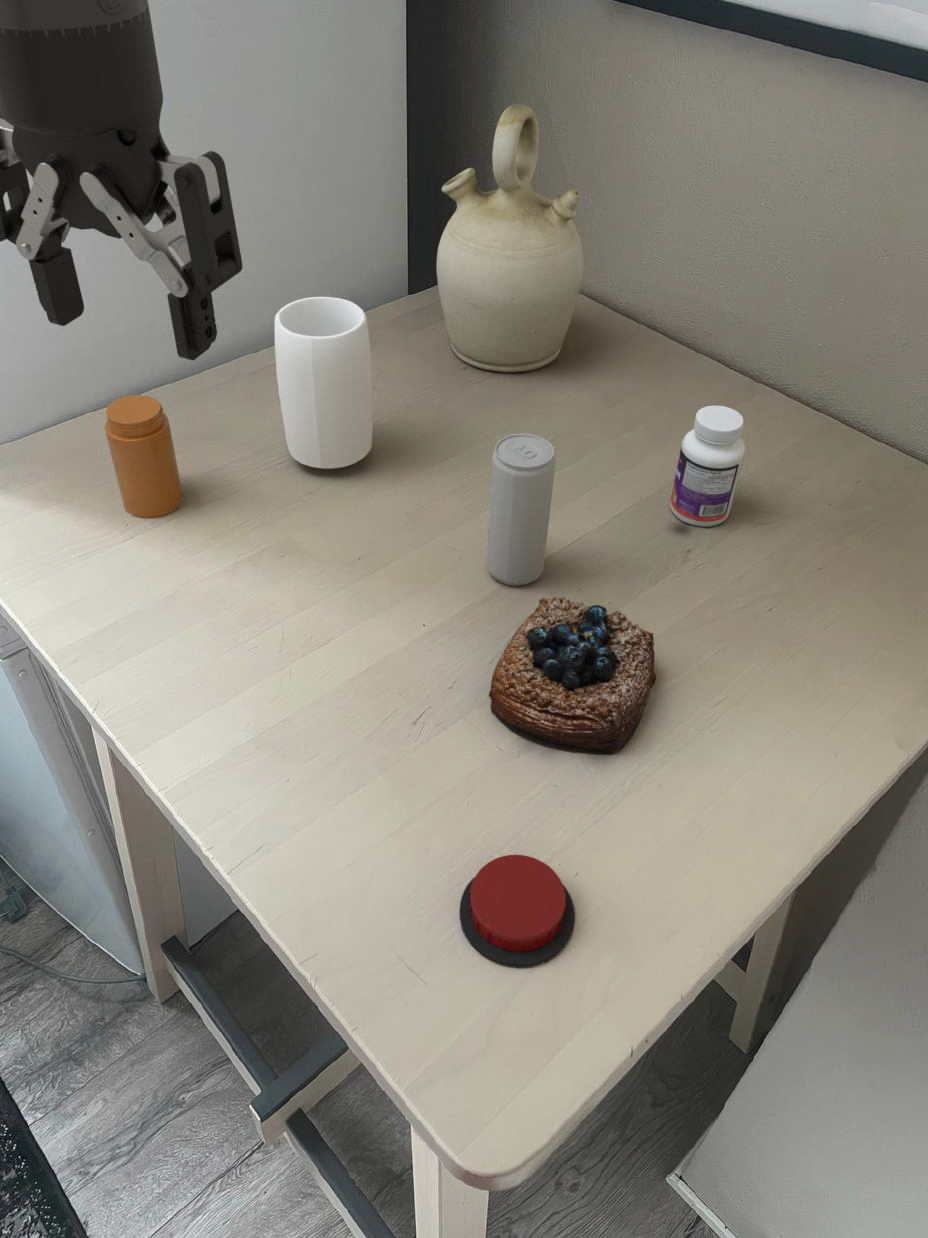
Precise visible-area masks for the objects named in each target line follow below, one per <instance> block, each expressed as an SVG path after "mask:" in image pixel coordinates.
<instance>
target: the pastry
mask: <svg viewBox="0 0 928 1238" xmlns="http://www.w3.org/2000/svg"><path fill="white" fill-rule="evenodd" d="M538 602H539V605H538V606H537V607H536V608H535V609H534V611H533V612H532V613H531V614H530V615H528V617H527V618H526V619H525V620H524V622H522V623H521V624H520V625H519V627H518V628H517V630H516V631H515V632H514V634H513V635H512V637H511V639H510V641H509V642H508V644H507V646H505V649H504V650H503V652H502V654H501V656H500V658H499V660H498V662H497V664H496V665H495V668H494V671H493V674H492V677H491V682H490V690H489V693H488V697H489V698H490V701H491V702H490V711H491V713H492V714H493V715H494V716H495V717H496V719H498V721H500V723H501V724H502V725H503V726H504V727H506V728H507V729H508V730H509V731H511V732H512V733H513V734H516V735H517V736H519V737H521V738H523V739H525V740H527V741H529V742H532V743H534V744H537V745H540V746H544V747H546V748H550V749H555V750H559V751H564V752H568V753H575V754H577V753H578V754H589V755H614V754H617V753H619V752H620V751H622V749H624V747H625V746H626V745H627V744H628V743H629V742H630V740H631V739H632V737H633V736H634V734H635V733H636V731H637V729H638V727H639V725H640V723H641V721H642V718H643V716H644V712H645V709H646V707H647V705H648V701H649V697H650V694H651V691H652V688H653V686H654V684H655V683H656V681H657V679H658V675H657V674H656V671H655V657H656V656H655V649H654V646H655V640H654V633H653V632H652V631H648V630H644V629H642V628H641V627H640V626H639V625H638V624H637V623H635V624H632V622H631V621H630V620H628V617H626V615H625V614H624V613H622V611H620V610H618V609H616V610H614V612H611V613H609V614H608V610H607V608H606V607H605V606H603V605H600V604H594V605H591V606H586V605H585V603H584V602H583V601H577V602H576V603H575V602H574V601H571V602H570V599H569V598H566V596H561V597H557V596H553V597H552V598H545V597H544V596H543V597H541V598H540V599H539V600H538Z"/></svg>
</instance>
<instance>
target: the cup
mask: <svg viewBox="0 0 928 1238" xmlns="http://www.w3.org/2000/svg"><path fill="white" fill-rule="evenodd" d="M369 335H370V334H369V326H368V320H367V315H366V313H365V311H364V310H363V309H362V308H361V307H360V306H358V305H357V304H356V303H355V302H353V301H350V300H348V299H343V298H339V297H332V296H311V297H304V298H301V299H297V300H293V301H292V302H290V303H289V302H288V303H287V304H286V305H284V306H283V307H281V308H280V309H279V310H278V312H277V313H276V314H275V315H274V356H275V357H274V358H275V371H276V380H277V381H276V382H277V388H278V395H279V403H280V411H281V416H282V417H281V418H282V422H283V423H282V424H283V428H284V435H285V441H286V445H287V449H288V452H289V454H290V456H292V458H293V459H294V460H295V461H297V462H298V463H299V464H302V465H305V466H308V467H310V468H317V469H340V468H345V467H348V466H351V465H354V464H356V463H358V462H359V461H361V460H363V459H364V458H365V457H366V456H367V455H368V454H369V453H370V451H371V449H372V444H373V443H372V441H373V369H372V365H373V364H372V355H371V341H370V336H369Z"/></svg>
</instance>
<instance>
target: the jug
mask: <svg viewBox="0 0 928 1238" xmlns="http://www.w3.org/2000/svg"><path fill="white" fill-rule="evenodd" d="M539 127H540V126H539V122H538V117H537V115H536V113H535V112H534V110H533V109H532V108H531V107H530V106H528V105H526V104H523V103H513V104H511V105H510V106H508V107H507V108H506V109H504V111H503V112H502V113H501V115H500V117H499V120H498V122H497V124H496V128H495V132H494V137H493V145H492V158H491V159H492V172H493V177H494V180H495V182H496V184H497V185H498V187H499V188H498V189H495V190H490V191H483V190H481V189H480V188H479V187H478V183H477V181H478V180H477V179H476V170H475V168H473V167H470V168H469V167H468V168H466V169H465V170H462V171H461V172H460V173H457V174H456V175H455V176H454V177H452V178H450V179H449V180H447V181H446V182H445V183H444V184H443V185H442V187H441V192H442V193H443V194H444V195H447V196H448V197H449V198H450V199H452V200H453V201H455V203H456V209H455V211H454V213H453V214H452V216H451V217H450V219H449V220H448V221H447V224H446V226H445V227H444V230H443V232H442V234H441V236H440V240H439V243H438V247H437V252H436V254H437V255H436V278H437V287H438V294H439V300H440V305H441V309H442V313H443V318H444V323H445V328H446V333H447V334H448V339H449V340H450V347H451V350H452V352H453V353H454V354H455V355H456V356H457V358H458V359H460V360H461V361H462V362H463V363H465V364H468V365H470V366H472V367H475V368H477V369H481V370H483V371H488V372H496V373H497V372H499V373H521V372H522V373H523V372H529V371H534V370H538V369H541V368H542V367H545V366H548V365H549V364H551V363H553V362H555V360H556V359H557V357H558V356H559V354H560V352H561V349H562V344H563V342H564V340H565V338H566V335H567V334H568V331H569V327H570V324H571V321H572V317H573V314H574V310H575V307H576V304H577V300H578V298H579V297H578V296H579V293H580V290H581V286H582V282H583V279H584V278H583V277H584V271H585V270H584V269H585V267H584V265H585V264H584V262H585V261H584V251H583V246H582V241H581V238H580V234H579V233H578V230H577V227H576V225H575V223H574V221H573V219H575V217H576V216H577V206H578V204H579V200H580V194H579V192H578V191H577V190H576V189H570V190H567V191H566V192H564V193H562V194H555V195H554V196H553V197H552V198H551V199H549V198H548V197H547V196H545V195H543V194H540V193H537V192H535V191H534V189H533V186H532V184H531V183H532V179H533V176H534V173H535V171H536V167H537V163H538V158H539V157H538V156H539V147H540V128H539Z"/></svg>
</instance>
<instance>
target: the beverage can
mask: <svg viewBox="0 0 928 1238" xmlns="http://www.w3.org/2000/svg"><path fill="white" fill-rule="evenodd" d="M555 469H556V457H555V448H554V446H553V445H552V443H551V442H550V441H548V440H547V439H546V438H544V437H542V436H539V435H536V434H531V433H512V434H509V435H506V436H503V437H502V438H500V439H499V440H498V441H497V442H496V443H495V445H494V451H493V454H492V459H491V476H490V477H491V478H490V493H489V512H488V528H487V546H486V548H487V549H486V568H487V570H488V572H489V574H490V575H491V576H492V577H493V578H494V579H495V580H496V581H498V582H500V583H502V584H504V585H508V586H514V587H515V586H517V587H519V586H525V585H528V584H531V583H533V582H534V581H536V580H537V579H538V578H539V577H541V575H542V573H543V571H544V564H545V558H546V557H545V556H546V550H547V549H546V548H547V540H548V533H549V523H550V514H551V508H552V507H551V505H552V496H553V487H554V479H555V478H554V477H555Z"/></svg>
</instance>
